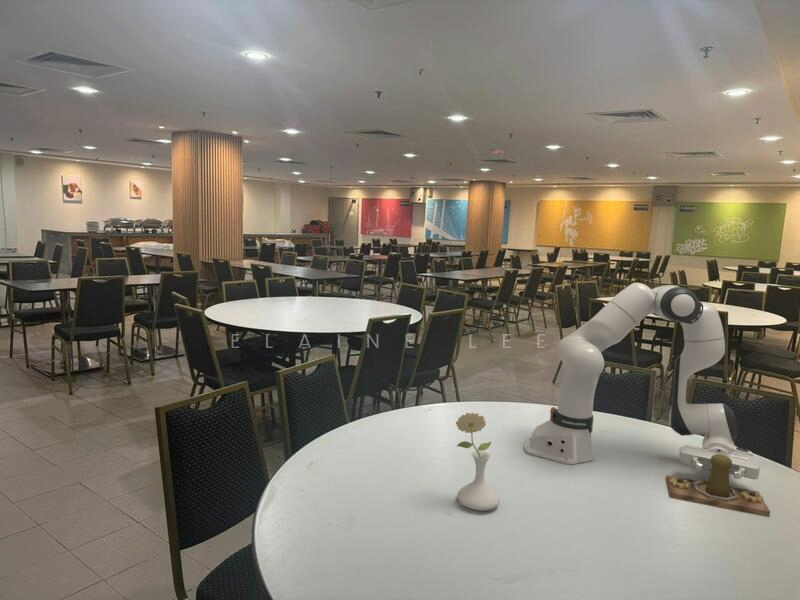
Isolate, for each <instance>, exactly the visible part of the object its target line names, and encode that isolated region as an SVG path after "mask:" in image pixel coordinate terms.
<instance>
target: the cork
mask: <svg viewBox="0 0 800 600" xmlns="http://www.w3.org/2000/svg"><path fill="white" fill-rule="evenodd" d="M711 464H712V468H711V469H710V473H709V476H708V479H707V481H708V482H707V485H706V489H705V491H706V492H707V493H708V494H710V495H713V496H718V497H723V498H728V497H730V491H729V486H730V474H729V469H730V468H731V467H732V461H731V459H730V458H729V457H727V456H725V455H720V454H715V455H713V456H712V457H711Z"/></svg>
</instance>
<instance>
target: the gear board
mask: <svg viewBox="0 0 800 600" xmlns="http://www.w3.org/2000/svg"><path fill="white" fill-rule="evenodd" d="M707 482H708V480H705V479H703V480H697V479H695V480H694V479H690V478H684V477H681V476H673V475H669V474H668V475H667V474H666V475H665V483H666V486H667V490H668V495H669V498H670V497H671V498H670V499H675V500H680V499H681V501H685V502H690V503H691V502H692V503H697V504H700V505H701V504H702V505H707V506H712V507H715V508H716V507H717V508H722V509H727V510H733V511H738V512H744V513H748V514H754V515H759V516H763V517H768V518H769V517H770V515H771V510H770V509H769V507H768V505H767V503H766V501H765V500H764V497H763V495H761V494H760V492H759V491H756V490H752V489H751V490H750V489H745V488H740V487H734V486H730V485H729V491H730V497H728V498H723V497H718V496H713V495H710V494H708V493H707V492H706V491H705V489H706V485H707Z"/></svg>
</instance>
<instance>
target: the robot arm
mask: <svg viewBox="0 0 800 600" xmlns="http://www.w3.org/2000/svg"><path fill="white" fill-rule="evenodd" d="M651 314H652V315H654V316H656V317H658V318H661V319H662V320H666V321H671V322H675V323H679V324H680V326H681V327H682V328H681V329H682V330H683V341H684V346H683V350H682V351H681V353H680V354H679V355H677V356H676V357H675V361H674V368H673V381H672V396H671V406H670V411H669V417H668V421H669V425H670V429H672V431H674V432H675V433H677V434H678V435H680V436H693V435H695V436H696V435H698V436H701V435H702V436H703V435H704V436H703V440H702V443H701V444H702V446H701V447H697V446H693V445H687V444H686V445H682V446H680V447H679V449H678V451H679V453H678V454H679V455H678V461H679V462H680V463H682V464H685V465H688V466H689V465H690V466H693V467H695V470H699V471H702V468H703V469H707V470H711V468H712V464H711V457H712V456H713V455H715V454H720V455H725V456H727V457H729V458H730V459H731V461H732V467H731V468H730V469H729V475H733V478H734V479H738V480H740V479H741V478H746V479H751V480H759V476H760V464H759V462H758V460H757V459H756V458H755V457H754V453H753V452H752V451H750V450H747V449H744V448H742V447H738V446H736V445H735V443H734V440H736V438H737V437H738V424H737V420H736V419H737V418H736V416H735V415H736V414H735V413H734V410H733V409H731V408H730V407H729V405H727V404H725V403H688V402H686V399H687V396H686V395H687V386H688V383H687V382H688V379H689V378H690V376H692V375H693V374H695V373H697V372H700V371H703V370H704V369H707V368H710V367H712V366H714V365H715V364H717V363H718V362H719V361H721V360H722V358H724V356H725V353H726V352H725V351H726V343H725V342H726V341H725V334H724V327H723V323H722V320H721V318H720V315H719V314H720V313H719V311H718V310H717V308H716V306H714V305H712V304H710V303H706V302H701V301H700V299H699V298H698V297H697V295H696V294H695V293H694V292H693V291H691V290H690V289H689V288H687V287H684V286H683V287H682V286H678V285H675V284H669V285H668V284H664V285H663V284H662V285H657V286H654V287H651V288H650V286H648V285H646V284H644V283H642V282H633V283H631V284H629V285H628V286H626V287H625V288H624V289H622V290H620V292H618V293H617V294H616V295H615V296H613V297H612V299H610V300H609V302H607V303H606V304H605V305H604V306H603V307H602V308H601V309H600V310H599V311H598V312H597V313H596V314H595V315H594V316H592V318H591V319H590V320H588V321H587V322H585V323H584V324H583V325H581V326H579V327H578V328H577V329H576V330H575V331H573V332H572V333H570V334H569V335H566V336H565V337H562V339H561V340H559V343H558V346H557V353H558V358H559V360H560V361H561V362H562V364H563V365H564V374H563V377H562V381H561V384H560V386H559V388H558V398H557V407H554V406H553V407H550V410H549V412H550V416H549V417H550V418H549V420H547V421H545V422H543V423H541V424H539V425H538V426H537V425H536V427H535V428H534V429H533V432H532V435H531V437H529V438H527V439H526V440H525V441H524V442H523V443H524V444H523V450H524V452H525V453H526V454H528V455H531V456H536V457H540V458H543V459H547V460H549V461H550V460H551V461H555V462H558V463H563V464H566V465H569V466H570V465H576V464H578V463H579V464H581V463H587V462H591V461H592V460H593V459H594V457H595V456H594V453H593V445H592V432H593V429H594V421H595V420H594V414H593V412H594V411H593V410H594V401H595V400H594V399H595V394H596V388H597V385H598V382H599V379H600V375H601V374H602V373H603V370H604V369H605V359H604V356H603V354H602V352H604V351H605V350H606V349H608V348H609V347H611V346H613V345H616V344H618V343H620V342H621V341H622V340H623V339H624V338H625V337H626V336H628V335H629V333H630V332H631V331H632V330H634V329H635V327H636V326H638V325H639V324H640V323H641V322H642V320H643V319H644V318H646V317H647V316H648V315H651Z"/></svg>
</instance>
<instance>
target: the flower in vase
mask: <svg viewBox="0 0 800 600" xmlns="http://www.w3.org/2000/svg"><path fill="white" fill-rule="evenodd" d="M485 419H486V418H485V417H484V415H480V414H479V413H478V412H476V413H474V412H471V413H469V412H466V413H465V414H462V415H461V416H459V417H458V418H457V420H456V421H455V425H456V427H457V429H458V430H459V431H461V432H465V434H466V433H468V434H469V433H470V435H471V442H469V441H467V440H466V441H465V440H464V441H461V442H459V443H458V444H456V447H461V448H464V449H470V448H471V447H472V446H473V448H474V450H475V451H473V452H472V453H471V456H472V458H473V459H474V463H475V477H474V479H473V480H472V481H471V482H469V483H467V484H465V485H463V487H461V488H460V489H459V490H458V492H457V493H456V498H457V500H458V501H459V503H460V504H461V505H463V506H464V507H467V508H469V509H470V510H471V509H472V510H475V511H490V510H493V509H495V508H496V507H497V506H499V504H500V502H501V499H500V496H499V494H498V493H497V491H496V490H495V489H493V488H492V487H491V486H490V485H489V484H488V483H487V482H486V480H485V469H486V466H487V462H488V461H489V460H490V458H491V457H492V455H491V453H489V452H486V450H488V449H489V447H490V446H491V444H492V441H488V442H483V443H481V444H480V445H478V448H477V447H476V446H475V443H474V440H473V438H474V437H473V433H477V432H481V431H482V429H484V428H485V426H487V423H486V420H485Z"/></svg>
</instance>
